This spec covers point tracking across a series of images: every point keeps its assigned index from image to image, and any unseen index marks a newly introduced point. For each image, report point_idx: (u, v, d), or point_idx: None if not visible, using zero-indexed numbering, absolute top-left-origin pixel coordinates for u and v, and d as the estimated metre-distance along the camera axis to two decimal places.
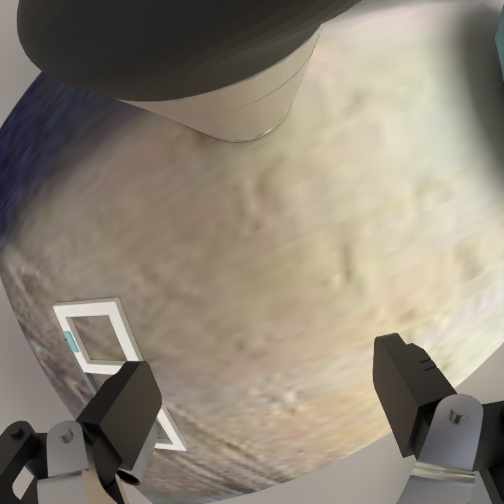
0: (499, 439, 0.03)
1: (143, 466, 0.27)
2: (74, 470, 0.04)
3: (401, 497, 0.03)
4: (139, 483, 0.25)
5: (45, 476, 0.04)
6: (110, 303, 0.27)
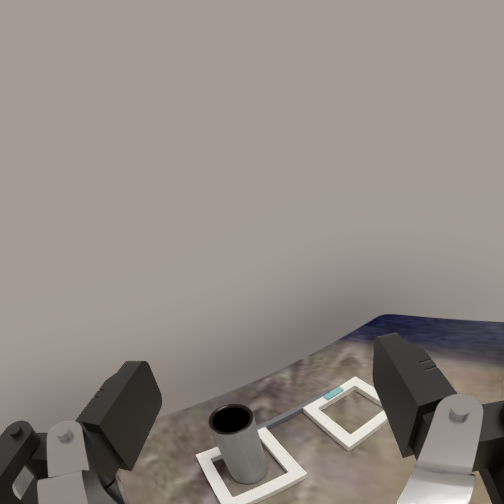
0: (499, 439, 0.03)
1: (246, 445, 0.23)
2: (74, 470, 0.04)
3: (401, 497, 0.03)
4: (227, 433, 0.23)
5: (45, 476, 0.04)
6: None
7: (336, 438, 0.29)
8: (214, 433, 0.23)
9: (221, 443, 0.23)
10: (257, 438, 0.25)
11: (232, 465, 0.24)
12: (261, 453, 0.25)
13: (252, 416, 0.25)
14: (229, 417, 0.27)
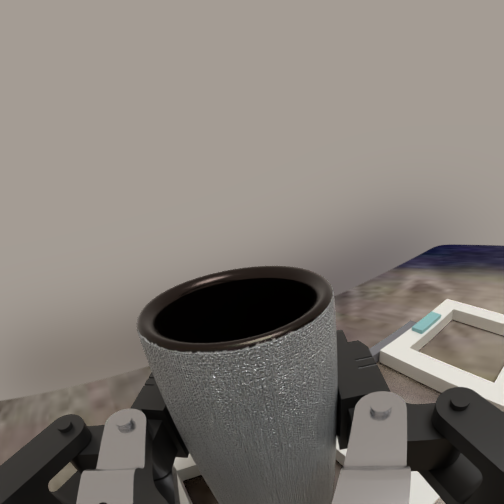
0: (426, 441, 0.04)
1: (302, 424, 0.05)
2: (127, 464, 0.04)
3: (335, 498, 0.03)
4: (213, 343, 0.05)
5: None
6: None
7: None
8: (151, 356, 0.05)
9: (186, 415, 0.05)
10: (337, 395, 0.06)
11: (235, 503, 0.06)
12: (335, 456, 0.07)
13: (325, 281, 0.06)
14: (227, 326, 0.09)
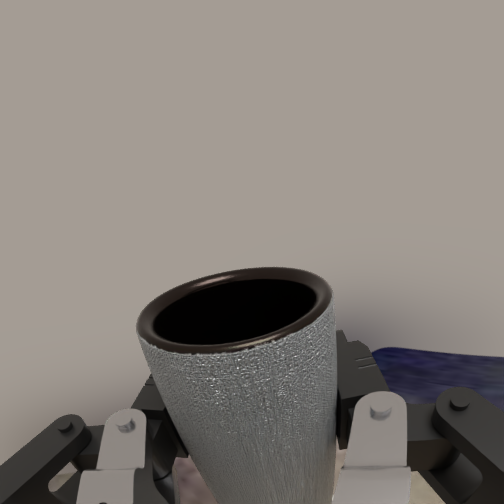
0: (426, 441, 0.04)
1: (301, 425, 0.05)
2: (127, 464, 0.04)
3: (335, 498, 0.03)
4: (212, 345, 0.05)
5: None
6: None
7: None
8: (151, 358, 0.05)
9: (185, 416, 0.05)
10: (336, 396, 0.06)
11: None
12: (335, 456, 0.07)
13: (325, 283, 0.06)
14: (226, 327, 0.09)
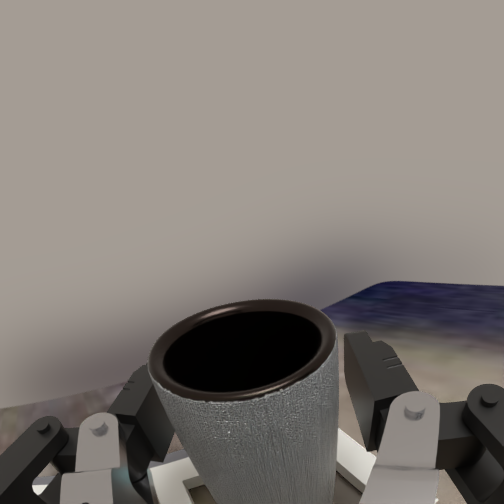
0: (458, 439, 0.04)
1: (305, 454, 0.05)
2: (104, 466, 0.04)
3: (363, 496, 0.03)
4: (224, 393, 0.05)
5: None
6: None
7: None
8: (164, 399, 0.05)
9: (197, 448, 0.05)
10: (337, 422, 0.07)
11: None
12: (335, 473, 0.07)
13: (329, 322, 0.07)
14: (232, 355, 0.09)
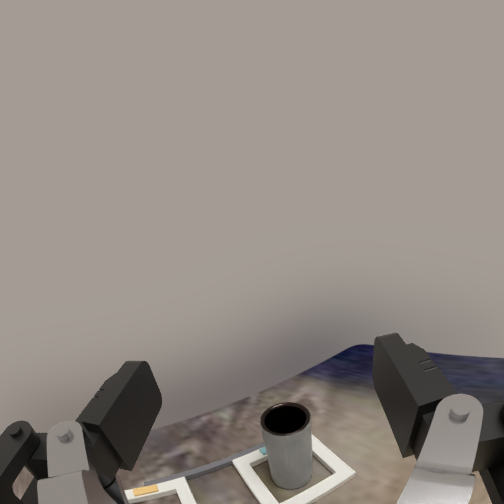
0: (499, 439, 0.03)
1: (301, 446, 0.21)
2: (74, 470, 0.04)
3: (401, 497, 0.03)
4: (285, 433, 0.21)
5: (45, 476, 0.04)
6: (350, 470, 0.23)
7: None
8: (268, 435, 0.21)
9: (275, 446, 0.21)
10: (311, 438, 0.22)
11: (281, 470, 0.22)
12: (311, 454, 0.23)
13: (309, 414, 0.22)
14: (279, 417, 0.25)
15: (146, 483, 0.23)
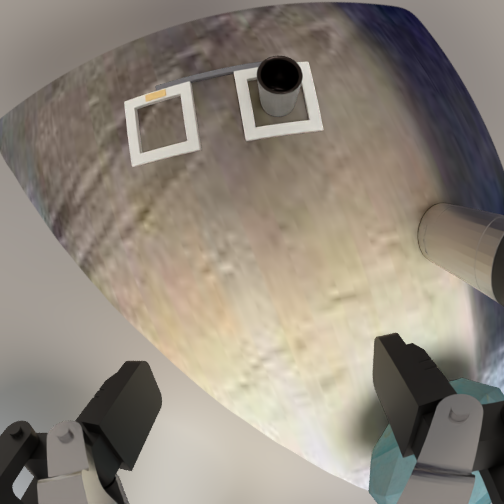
0: (499, 439, 0.03)
1: (284, 100, 0.27)
2: (74, 470, 0.04)
3: (401, 497, 0.03)
4: (272, 91, 0.25)
5: (45, 476, 0.04)
6: (320, 125, 0.34)
7: (243, 123, 0.35)
8: (259, 85, 0.25)
9: (263, 92, 0.26)
10: (297, 94, 0.27)
11: (265, 104, 0.30)
12: (294, 101, 0.30)
13: (300, 80, 0.24)
14: (278, 64, 0.25)
15: (157, 87, 0.34)
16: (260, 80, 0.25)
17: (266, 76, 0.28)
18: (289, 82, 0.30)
